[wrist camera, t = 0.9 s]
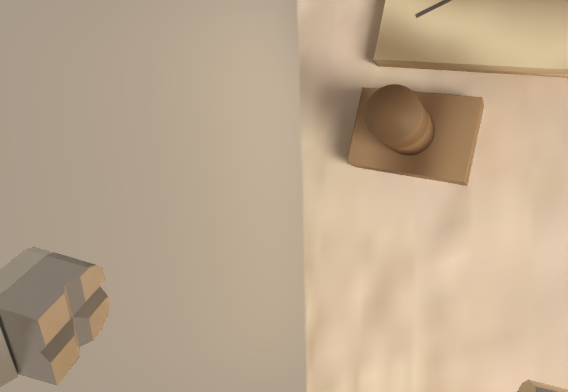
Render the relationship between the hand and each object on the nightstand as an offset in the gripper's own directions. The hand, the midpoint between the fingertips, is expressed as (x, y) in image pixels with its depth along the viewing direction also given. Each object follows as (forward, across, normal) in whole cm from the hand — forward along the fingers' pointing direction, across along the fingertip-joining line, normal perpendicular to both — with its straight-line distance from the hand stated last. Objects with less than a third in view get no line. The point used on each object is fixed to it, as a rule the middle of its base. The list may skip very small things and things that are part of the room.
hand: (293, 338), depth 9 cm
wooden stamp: (+26, -3, +6) cm, 27 cm away
